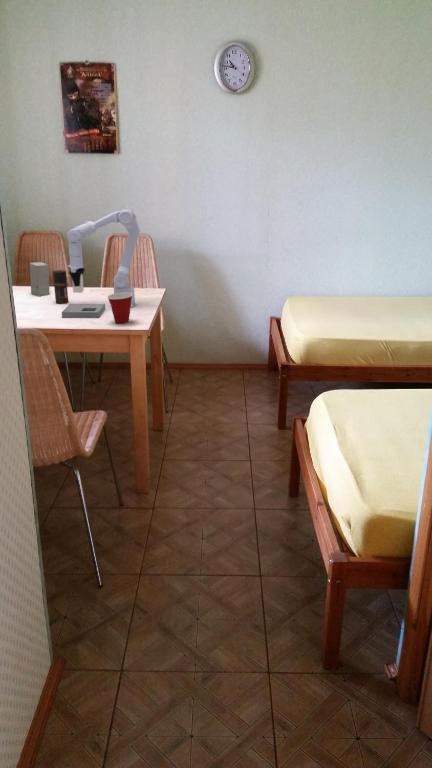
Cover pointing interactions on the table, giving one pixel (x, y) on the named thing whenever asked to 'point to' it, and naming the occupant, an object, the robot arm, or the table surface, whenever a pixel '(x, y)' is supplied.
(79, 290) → the beige rectangular block
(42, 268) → the skincare box
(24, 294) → the table surface
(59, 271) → the deodorant
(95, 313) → the outlet plate
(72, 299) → the table surface
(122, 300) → the plastic cup
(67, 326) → the table surface
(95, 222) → the robot arm
